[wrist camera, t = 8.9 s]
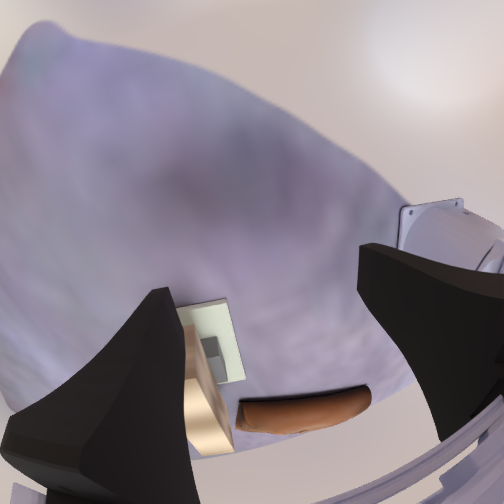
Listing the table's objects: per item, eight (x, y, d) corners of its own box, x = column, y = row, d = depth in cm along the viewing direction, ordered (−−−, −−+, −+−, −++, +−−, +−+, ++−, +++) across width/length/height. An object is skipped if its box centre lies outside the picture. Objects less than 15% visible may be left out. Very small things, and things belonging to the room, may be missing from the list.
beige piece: (227, 409, 24) (234, 451, 19) (198, 414, 24) (202, 455, 19) (194, 324, 19) (195, 378, 14) (154, 330, 18) (147, 384, 14)
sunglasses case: (230, 431, 31) (240, 457, 25) (232, 387, 32) (243, 409, 26) (345, 416, 35) (369, 432, 29) (351, 376, 36) (377, 389, 30)
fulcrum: (225, 298, 22) (230, 321, 19) (245, 374, 26) (250, 397, 23) (133, 315, 21) (127, 339, 18) (171, 386, 25) (170, 409, 23)
